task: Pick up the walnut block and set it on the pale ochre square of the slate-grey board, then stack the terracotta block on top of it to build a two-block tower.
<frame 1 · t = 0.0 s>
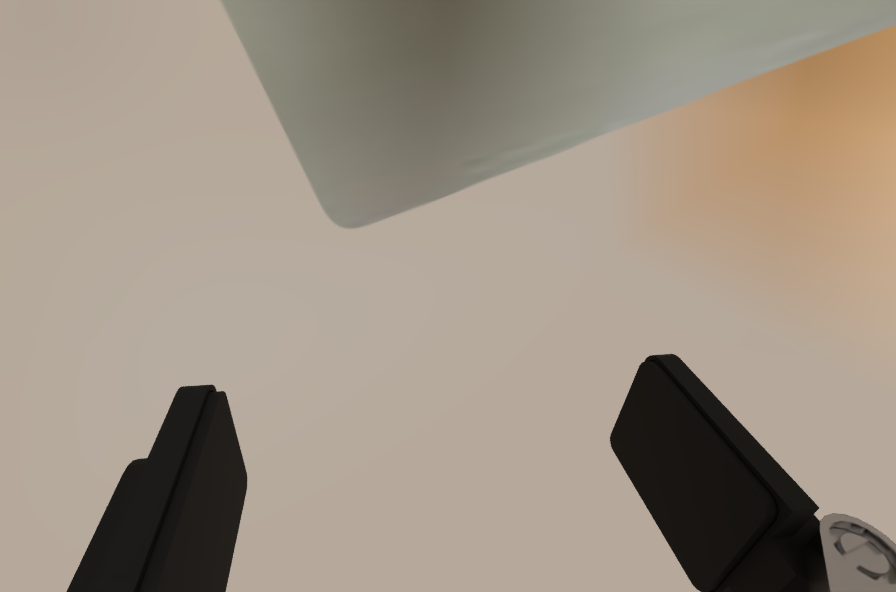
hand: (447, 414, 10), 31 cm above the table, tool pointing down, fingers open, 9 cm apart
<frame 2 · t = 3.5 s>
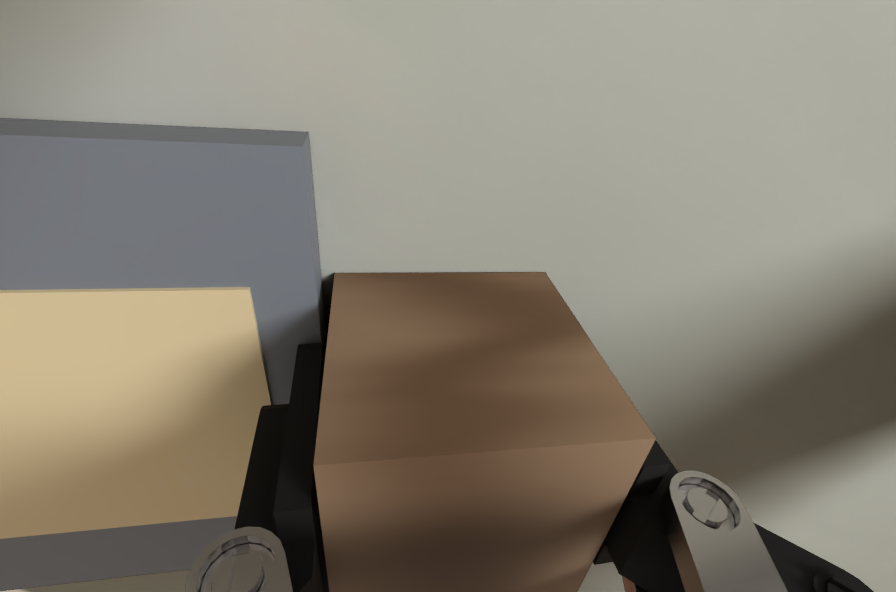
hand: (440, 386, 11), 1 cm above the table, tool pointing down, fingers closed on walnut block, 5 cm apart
walnut block: (436, 354, 12), on the table, touching gripper
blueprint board: (121, 396, 11), on the table
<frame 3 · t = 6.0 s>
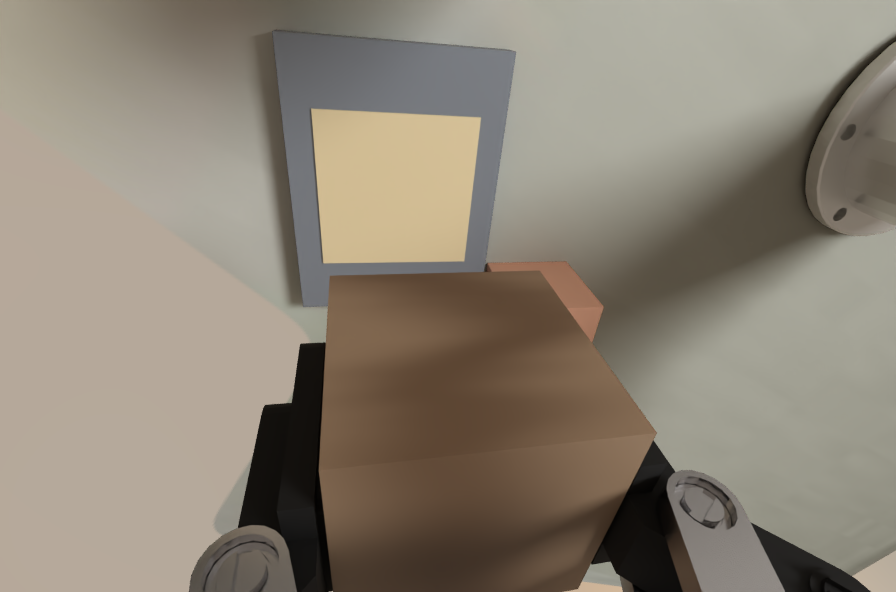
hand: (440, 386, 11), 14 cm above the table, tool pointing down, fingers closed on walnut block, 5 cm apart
walnut block: (432, 354, 12), point 13 cm above the table, touching gripper
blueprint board: (395, 187, 22), on the table
terracotta block: (520, 296, 28), on the table
when the fingers open (3 cm above the table, at t = 8.4 s): walnut block stays where it is, resting on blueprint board.
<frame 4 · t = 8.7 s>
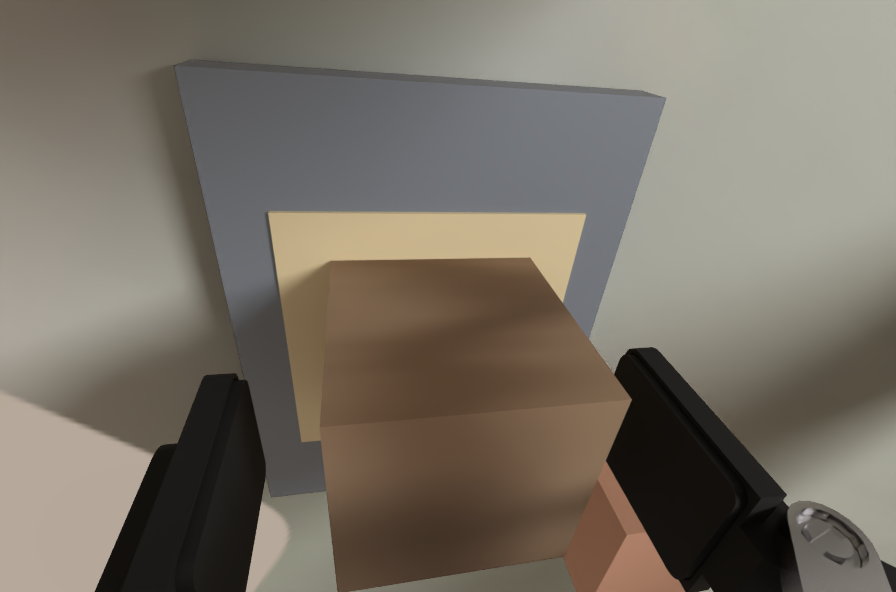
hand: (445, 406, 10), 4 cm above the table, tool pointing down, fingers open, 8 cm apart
walnut block: (429, 338, 12), point 1 cm above the table, touching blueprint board
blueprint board: (423, 317, 13), on the table
terracotta block: (601, 442, 19), on the table
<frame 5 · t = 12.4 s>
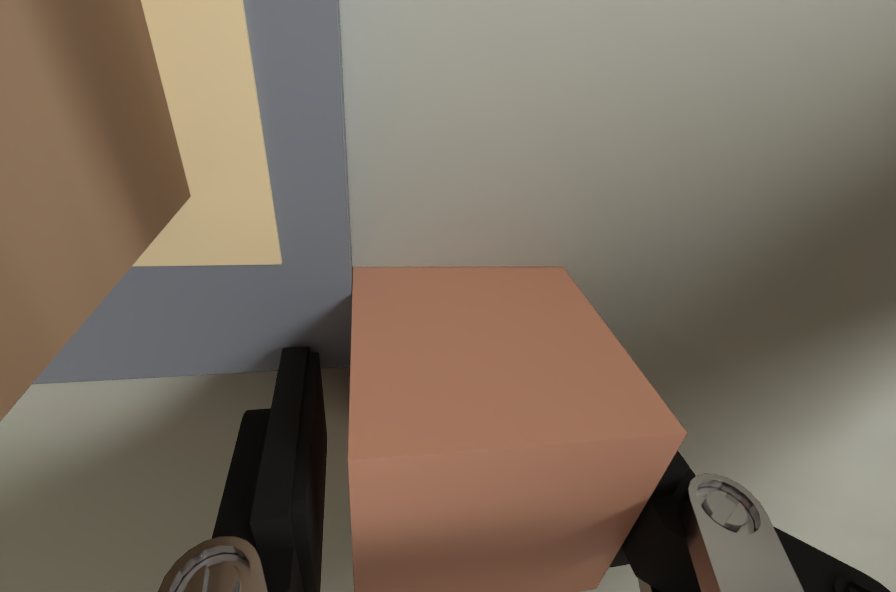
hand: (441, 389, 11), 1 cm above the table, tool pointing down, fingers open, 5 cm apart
terracotta block: (452, 349, 12), on the table, touching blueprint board, gripper
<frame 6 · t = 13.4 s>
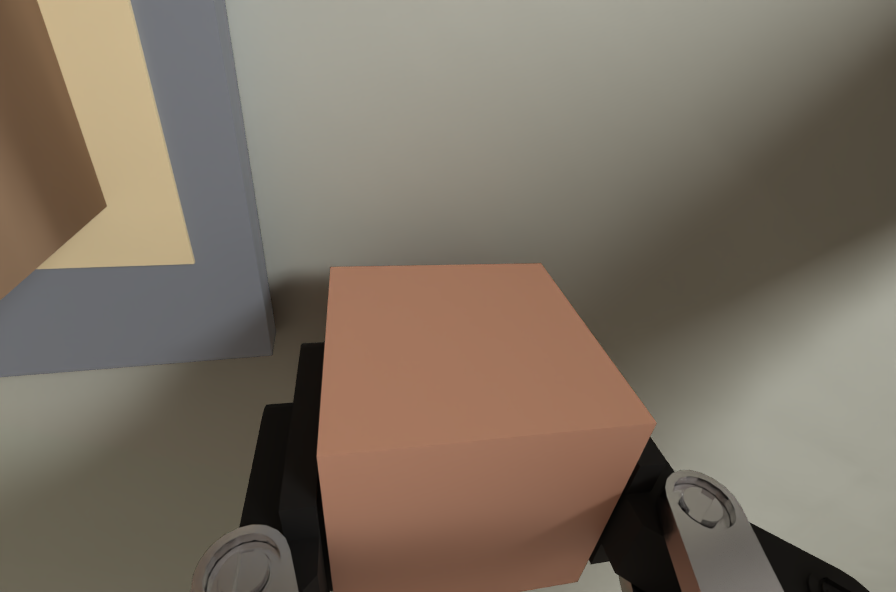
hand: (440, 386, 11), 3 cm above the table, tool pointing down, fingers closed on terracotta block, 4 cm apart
terracotta block: (433, 347, 12), point 2 cm above the table, touching gripper
when the fingers open (8 cm above the table, at t = 16.7 s): terracotta block stays where it is, resting on walnut block.
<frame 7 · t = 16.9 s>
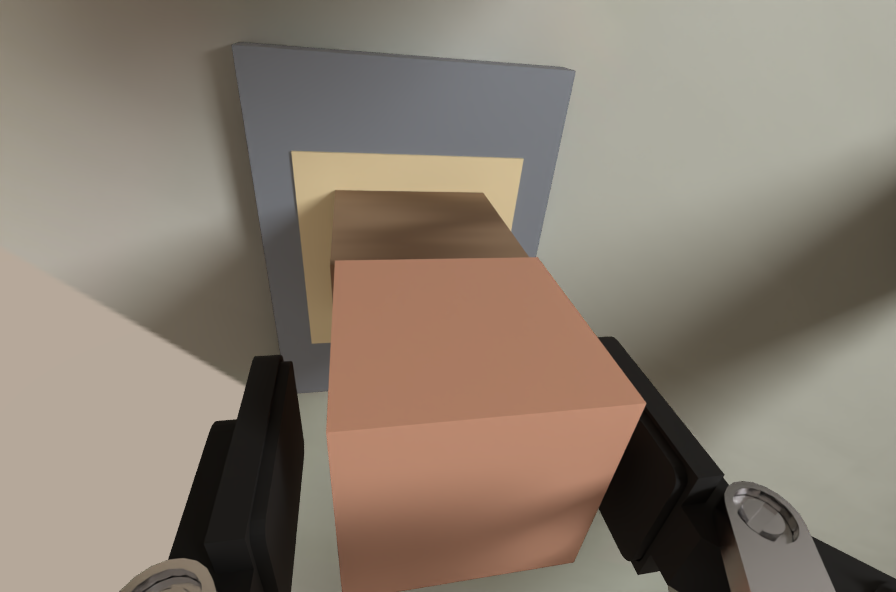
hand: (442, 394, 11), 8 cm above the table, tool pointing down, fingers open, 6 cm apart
walnut block: (408, 257, 16), point 1 cm above the table, touching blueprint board, terracotta block
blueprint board: (406, 245, 17), on the table
terracotta block: (434, 339, 12), point 6 cm above the table, touching walnut block
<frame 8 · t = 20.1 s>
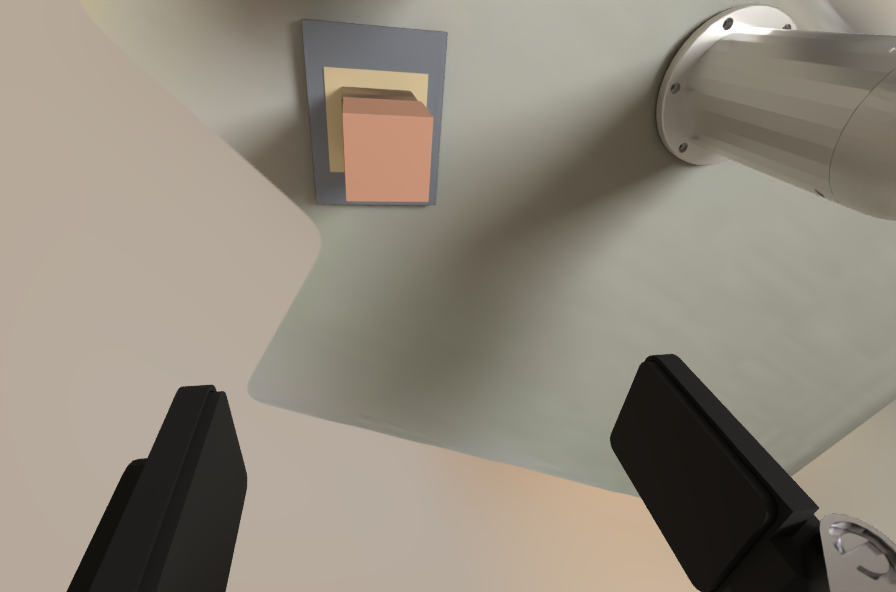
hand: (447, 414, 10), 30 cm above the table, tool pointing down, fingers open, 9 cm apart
walnut block: (377, 124, 34), point 1 cm above the table, touching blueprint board, terracotta block
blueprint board: (376, 121, 35), on the table
terracotta block: (382, 139, 30), point 6 cm above the table, touching walnut block
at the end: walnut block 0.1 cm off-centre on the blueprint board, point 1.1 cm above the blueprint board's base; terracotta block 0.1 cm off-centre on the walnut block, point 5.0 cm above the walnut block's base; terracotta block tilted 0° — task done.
